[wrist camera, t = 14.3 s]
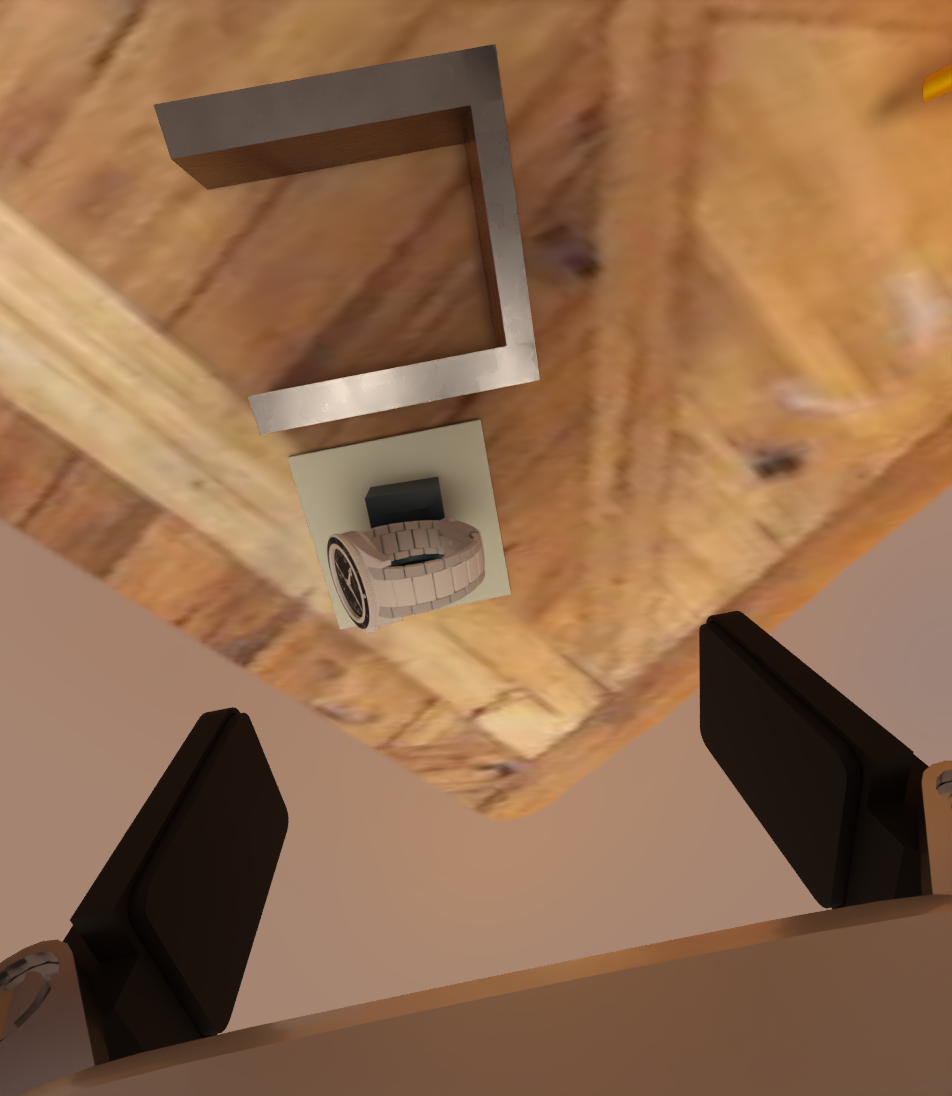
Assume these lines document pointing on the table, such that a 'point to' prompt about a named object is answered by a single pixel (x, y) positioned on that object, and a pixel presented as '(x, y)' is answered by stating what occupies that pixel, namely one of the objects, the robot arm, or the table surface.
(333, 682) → the table surface
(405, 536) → the watch
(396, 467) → the sage mat
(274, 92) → the u-shaped metal bracket
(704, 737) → the robot arm
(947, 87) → the figure statuette
